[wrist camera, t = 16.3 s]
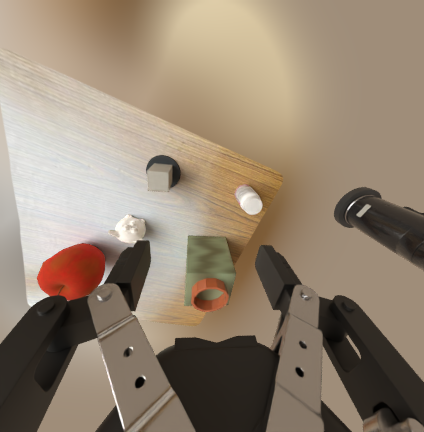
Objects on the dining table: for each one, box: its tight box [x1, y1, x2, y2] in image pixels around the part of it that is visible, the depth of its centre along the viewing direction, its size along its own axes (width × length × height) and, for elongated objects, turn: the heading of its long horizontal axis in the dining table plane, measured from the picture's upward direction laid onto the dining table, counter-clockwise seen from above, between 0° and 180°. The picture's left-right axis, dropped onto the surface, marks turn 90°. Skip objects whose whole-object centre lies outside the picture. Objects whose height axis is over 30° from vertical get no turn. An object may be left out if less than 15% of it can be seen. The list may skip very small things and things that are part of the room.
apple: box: [37, 243, 105, 300], centre depth 41 cm, size 12×12×14 cm
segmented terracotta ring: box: [191, 278, 229, 312], centre depth 38 cm, size 8×8×2 cm
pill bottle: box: [235, 184, 263, 215], centre depth 40 cm, size 5×5×8 cm
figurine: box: [108, 214, 146, 244], centre depth 42 cm, size 8×6×7 cm
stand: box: [184, 236, 236, 306], centre depth 46 cm, size 11×11×14 cm
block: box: [147, 163, 172, 192], centre depth 36 cm, size 4×4×7 cm
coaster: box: [146, 155, 180, 188], centre depth 39 cm, size 8×8×1 cm
